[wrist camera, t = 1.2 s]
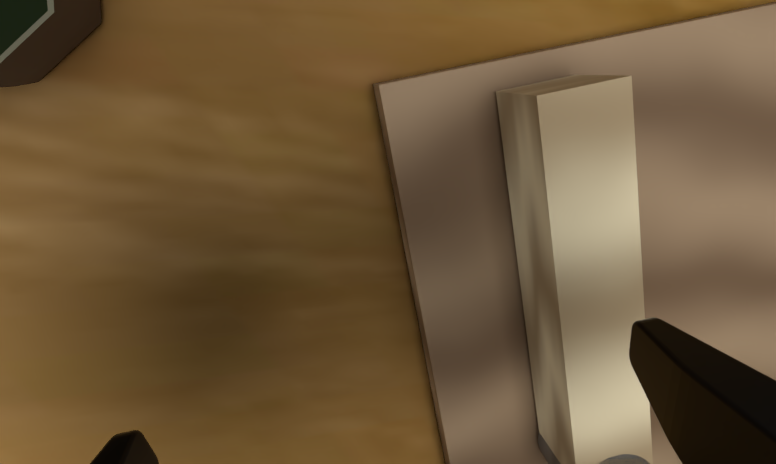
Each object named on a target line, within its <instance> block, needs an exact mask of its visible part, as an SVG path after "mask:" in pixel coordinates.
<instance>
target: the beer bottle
mask: <svg viewBox="0 0 776 464" xmlns="http://www.w3.org/2000/svg"><path fill="white" fill-rule="evenodd" d="M100 24H101V5H100V0H0V87H11V86H19V85H24V84H29V83H35V82H39V81H40V80H41V79H42V78H43V77H44V76H45V75H46V74H47V73H48V72H49V71H50V70H51V69H53V68H54V67H55V66H56V65H57V64H58V63H59V62H60V61H61V60H62V59H63V58H64V57H65V56H66V55H67V54H69V53H70V52H71V51H72V50H73V49H74V48H75V47H76V46H77V45H78V44H79V43H80V42H81V41H82V40H84V39H85V38H86V37H87V36H88V35H89V34H90V33H91V32H92V31H93V30H94V29H95V28H96V27H97V26H99V25H100Z"/></svg>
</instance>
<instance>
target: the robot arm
mask: <svg viewBox="0 0 776 464" xmlns="http://www.w3.org/2000/svg"><path fill="white" fill-rule="evenodd" d="M629 358H630V362H631V365H632V367H633V370H634V372H635V374H636V376H637V378H638V380H639V382H640V384H641V386H642V388H643V390H644V392H645V394H646V396H647V398H648V400H649V402H650V405H651V407H652V409H653V411H654V413H655V415H656V417H657V419H658V421H659V423H660V425H661V427H662V429H663V431H664V433H665V435H666V437H667V439H668V441H669V442H670V444H671V446H672V448H673V449H674V451H675V453H676V454H677V456H678V457H679V459H680V461H681V462H682V464H776V380H774V379H772V378H770V377H769V376H767V375H765V374H763V373H761V372H759V371H757V370H755V369H754V368H752V367H750V366H748V365H746V364H744V363H742V362H740V361H739V360H737V359H735V358H733V357H731V356H729V355H727V354H725V353H724V352H722V351H720V350H718V349H716V348H714V347H712V346H710V345H709V344H707V343H705V342H703V341H701V340H699V339H697V338H695V337H694V336H692V335H690V334H688V333H686V332H684V331H682V330H680V329H679V328H677V327H675V326H673V325H671V324H669V323H667V322H665V321H663V320H662V319H659V318H656V317H652V318H647V319H643V320H638V321H635V322H634V323H633V325H632V329H631V338H630V348H629ZM90 464H159V463H158V459H157V457H156V455H155V453H154V452H153V450H152V448H151V447H150V445H149V443H148V442H147V440H146V439H145V437H144V435H143V434H142V433H141V432H140V431H138V430H133V431H129V432H124V433H120V434H116V435H115V436H113V437H112V438H111V439H110V440H109V441H108V443H107V444H106V445H105V446H104V447H103V449H102V450H101V451H100V452H99V453H98V455H97V456H96V457H95V458H94V459H93V461H92V462H91V463H90Z"/></svg>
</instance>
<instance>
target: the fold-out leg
mask: <svg viewBox="0 0 776 464" xmlns="http://www.w3.org/2000/svg"><path fill="white" fill-rule="evenodd" d="M496 96H497V104H498V112H499V120H500V128H501V136H502V143H503V151H504V159H505V167H506V175H507V183H508V191H509V199H510V206H511V214H512V222H513V230H514V238H515V246H516V254H517V262H518V270H519V277H520V285H521V293H522V301H523V309H524V317H525V325H526V333H527V340H528V348H529V356H530V364H531V372H532V380H533V388H534V396H535V404H536V411H537V419H538V427H539V435H538V444H539V448H540V451H541V452H542V454H543V456H544V457H545V459H546V460H547V462H548V463H549V464H653V457H652V438H651V420H650V402H649V400H648V398H647V396H646V394H645V392H644V390H643V388H642V386H641V384H640V382H639V380H638V378H637V376H636V374H635V372H634V370H633V367H632V365H631V362H630V358H629V348H630V338H631V329H632V325H633V323H634V322H635V321H638V320H643V319H645V311H644V292H643V274H642V256H641V238H640V219H639V201H638V183H637V164H636V146H635V128H634V110H633V91H632V76H624V75H572V76H567V77H563V78H558V79H553V80H548V81H544V82H539V83H534V84H529V85H525V86H520V87H515V88H510V89H505V90H501V91H496Z"/></svg>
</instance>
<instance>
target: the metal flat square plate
mask: <svg viewBox="0 0 776 464" xmlns="http://www.w3.org/2000/svg"><path fill="white" fill-rule="evenodd" d="M572 75H624V76H632V91H633V110H634V128H635V146H636V164H637V183H638V201H639V219H640V238H641V256H642V274H643V292H644V311H645V319H647V318H652V317H656V318H659V319H662V320H663V321H665V322H667V323H669V324H671V325H673V326H675V327H677V328H679V329H680V330H682V331H684V332H686V333H688V334H690V335H692V336H694V337H695V338H697V339H699V340H701V341H703V342H705V343H707V344H709V345H710V346H712V347H714V348H716V349H718V350H720V351H722V352H724V353H725V354H727V355H729V356H731V357H733V358H735V359H737V360H739V361H740V362H742V363H744V364H746V365H748V366H750V367H752V368H754V369H755V370H757V371H759V372H761V373H763V374H765V375H767V376H769V377H770V378H772V379H774V380H776V2H773V3H768V4H763V5H758V6H753V7H748V8H743V9H739V10H734V11H729V12H724V13H719V14H714V15H709V16H704V17H699V18H694V19H690V20H685V21H680V22H675V23H670V24H665V25H660V26H655V27H650V28H645V29H640V30H636V31H631V32H626V33H621V34H616V35H611V36H606V37H601V38H596V39H591V40H587V41H582V42H577V43H572V44H567V45H562V46H557V47H552V48H547V49H542V50H537V51H533V52H528V53H523V54H518V55H513V56H508V57H503V58H498V59H493V60H488V61H484V62H479V63H474V64H469V65H464V66H459V67H454V68H449V69H444V70H439V71H434V72H430V73H425V74H420V75H415V76H410V77H405V78H400V79H395V80H390V81H385V82H380V83H376V84H373V86H374V92H375V97H376V102H377V107H378V112H379V118H380V123H381V128H382V133H383V139H384V144H385V149H386V154H387V160H388V165H389V170H390V175H391V181H392V186H393V191H394V196H395V201H396V207H397V212H398V217H399V222H400V228H401V233H402V238H403V243H404V249H405V254H406V259H407V264H408V270H409V275H410V280H411V285H412V290H413V296H414V301H415V306H416V311H417V317H418V322H419V327H420V332H421V338H422V343H423V348H424V353H425V359H426V364H427V369H428V374H429V379H430V385H431V390H432V395H433V400H434V406H435V411H436V416H437V421H438V427H439V432H440V437H441V442H442V448H443V453H444V458H445V463H446V464H549V463H548V462H547V460H546V459H545V457H544V456H543V454H542V452H541V451H540V448H539V444H538V435H539V427H538V419H537V411H536V404H535V396H534V388H533V380H532V372H531V364H530V356H529V348H528V340H527V333H526V325H525V317H524V309H523V301H522V293H521V285H520V277H519V270H518V262H517V254H516V246H515V238H514V230H513V222H512V214H511V206H510V199H509V191H508V183H507V175H506V167H505V159H504V151H503V143H502V136H501V128H500V120H499V112H498V104H497V96H496V91H501V90H505V89H510V88H515V87H520V86H525V85H529V84H534V83H539V82H544V81H548V80H553V79H558V78H563V77H567V76H572ZM650 420H651V438H652V457H653V464H682V462H681V461H680V459H679V457H678V456H677V454H676V453H675V451H674V449H673V448H672V446H671V444H670V442H669V441H668V439H667V437H666V435H665V433H664V431H663V429H662V427H661V425H660V423H659V421H658V419H657V417H656V415H655V413H654V411H653V409H652V407H651V405H650Z"/></svg>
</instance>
